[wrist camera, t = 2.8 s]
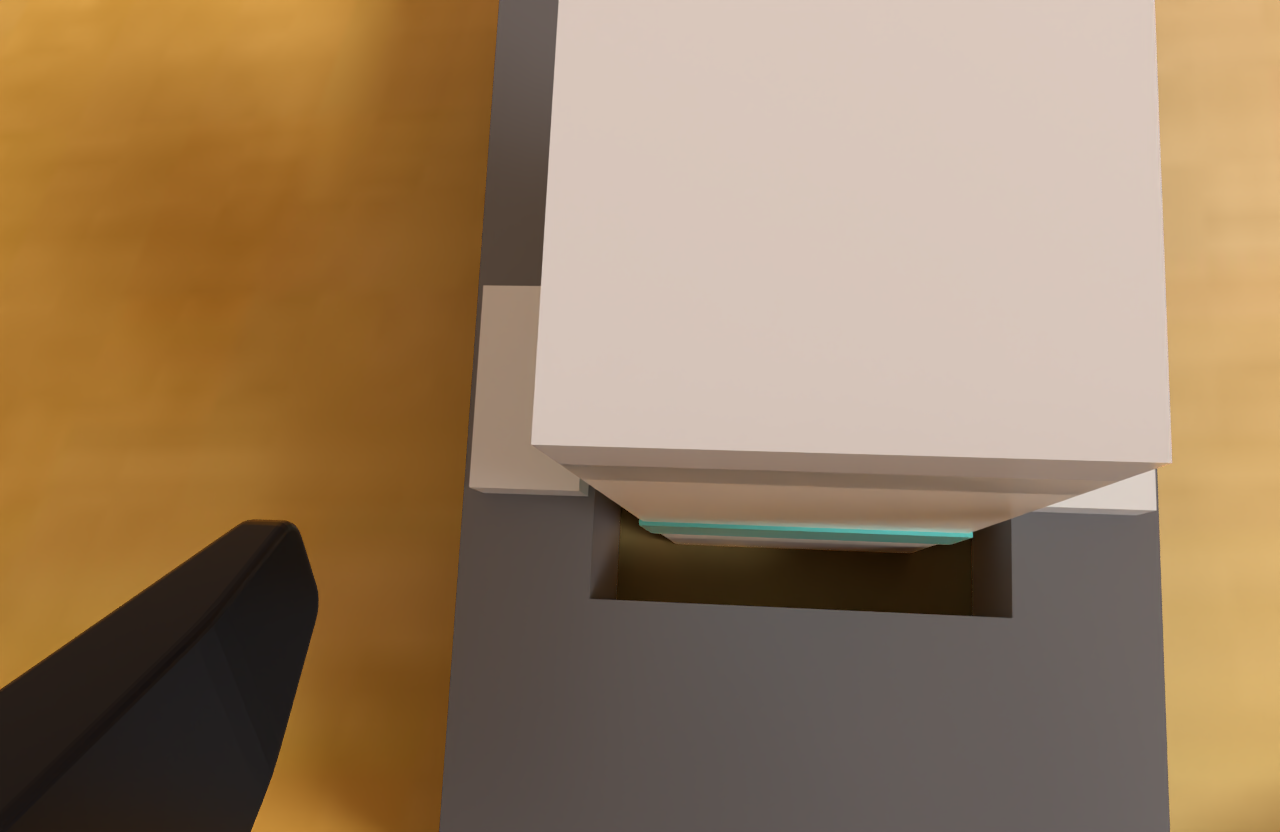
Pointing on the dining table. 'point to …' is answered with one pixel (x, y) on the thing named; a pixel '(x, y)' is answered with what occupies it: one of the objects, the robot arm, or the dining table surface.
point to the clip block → (767, 628)
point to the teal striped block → (852, 264)
